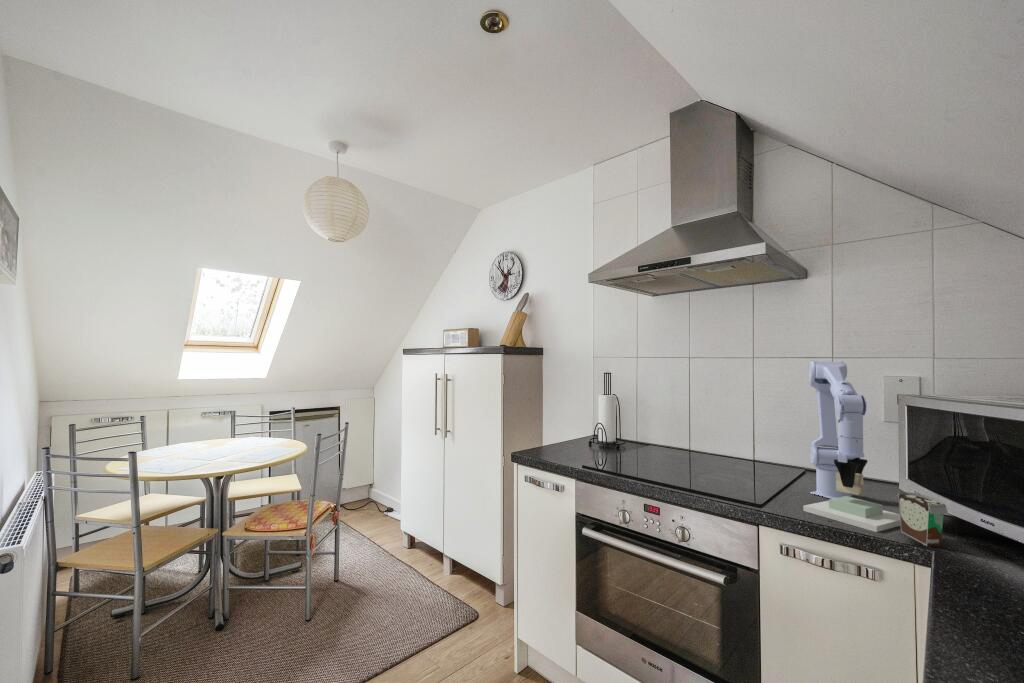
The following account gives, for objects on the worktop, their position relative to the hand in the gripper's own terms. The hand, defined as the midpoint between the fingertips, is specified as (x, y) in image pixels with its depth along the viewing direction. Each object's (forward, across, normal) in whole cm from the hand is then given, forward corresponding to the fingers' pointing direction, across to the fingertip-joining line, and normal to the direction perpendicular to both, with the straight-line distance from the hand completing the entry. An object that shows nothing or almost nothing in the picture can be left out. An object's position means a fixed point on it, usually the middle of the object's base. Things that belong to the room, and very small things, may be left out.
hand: (851, 485), depth 127 cm
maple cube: (+2, 0, 0) cm, 2 cm away
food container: (+9, +6, +17) cm, 20 cm away
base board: (+8, 0, +1) cm, 8 cm away
